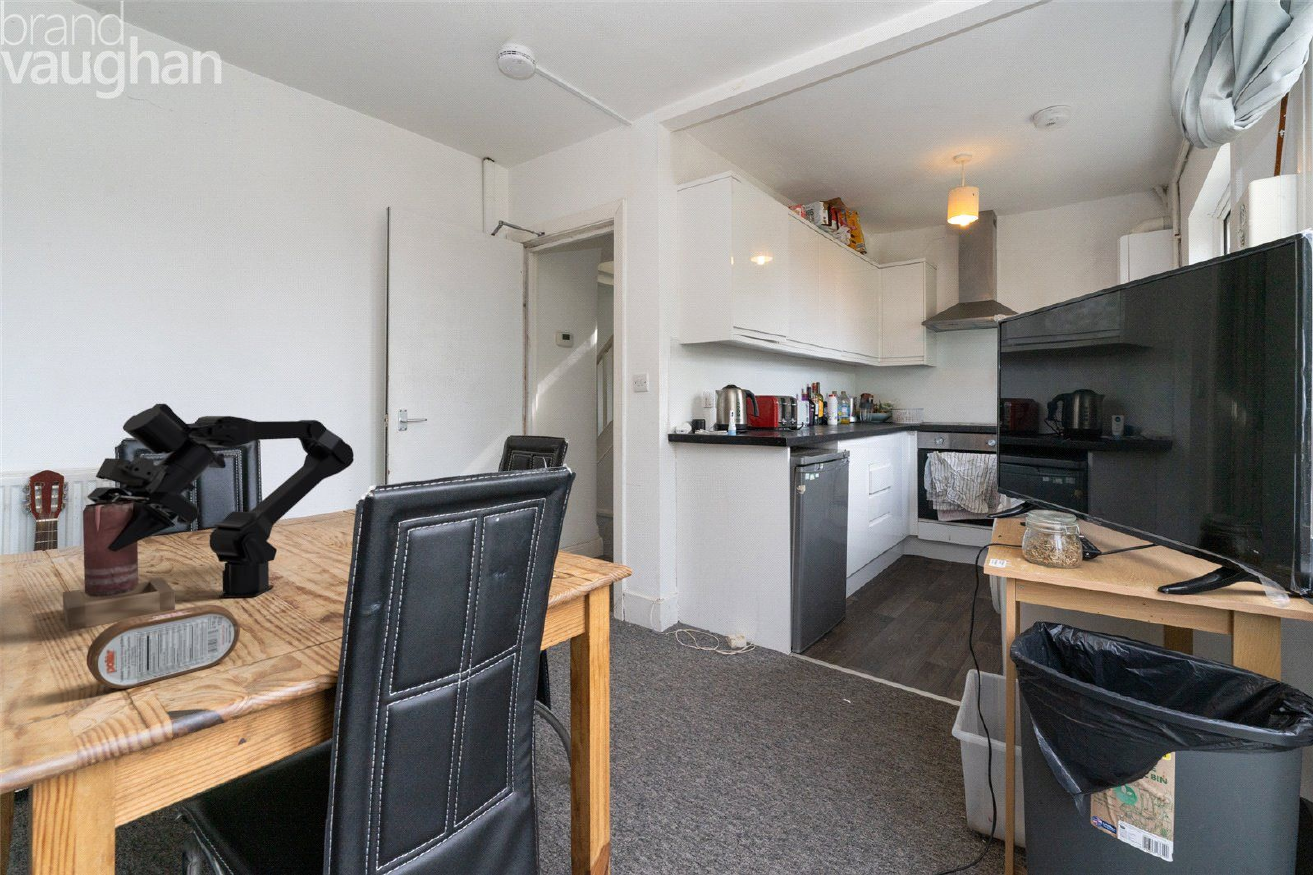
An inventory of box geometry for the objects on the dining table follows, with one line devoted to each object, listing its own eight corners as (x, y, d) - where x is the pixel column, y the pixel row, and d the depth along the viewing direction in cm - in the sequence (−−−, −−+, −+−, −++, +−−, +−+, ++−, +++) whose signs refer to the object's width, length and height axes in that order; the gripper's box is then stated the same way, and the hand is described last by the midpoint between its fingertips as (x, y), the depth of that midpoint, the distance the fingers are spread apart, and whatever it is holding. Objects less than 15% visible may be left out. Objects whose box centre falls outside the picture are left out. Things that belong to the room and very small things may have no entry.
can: (76, 600, 85) (73, 507, 84) (94, 588, 90) (92, 501, 90) (129, 594, 87) (127, 505, 87) (144, 583, 93) (142, 499, 93)
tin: (236, 655, 80) (235, 596, 80) (242, 661, 78) (242, 601, 78) (86, 693, 69) (85, 625, 69) (89, 701, 67) (88, 631, 67)
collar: (162, 595, 107) (162, 577, 107) (174, 610, 99) (174, 591, 99) (63, 612, 98) (62, 592, 98) (67, 630, 89) (67, 608, 89)
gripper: (100, 439, 95) (11, 514, 85) (176, 440, 89) (90, 522, 79) (156, 481, 103) (79, 555, 92) (229, 485, 97) (156, 564, 87)
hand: (99, 548), depth 87 cm, fingers closed on can, 5 cm apart
